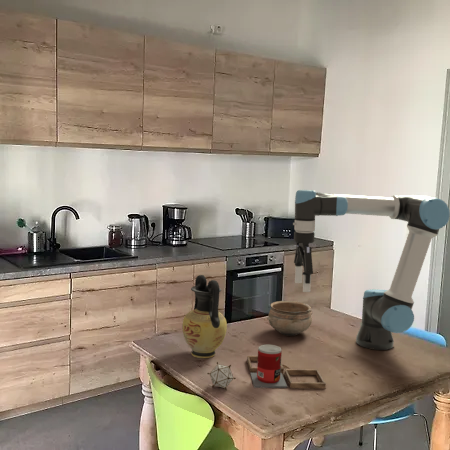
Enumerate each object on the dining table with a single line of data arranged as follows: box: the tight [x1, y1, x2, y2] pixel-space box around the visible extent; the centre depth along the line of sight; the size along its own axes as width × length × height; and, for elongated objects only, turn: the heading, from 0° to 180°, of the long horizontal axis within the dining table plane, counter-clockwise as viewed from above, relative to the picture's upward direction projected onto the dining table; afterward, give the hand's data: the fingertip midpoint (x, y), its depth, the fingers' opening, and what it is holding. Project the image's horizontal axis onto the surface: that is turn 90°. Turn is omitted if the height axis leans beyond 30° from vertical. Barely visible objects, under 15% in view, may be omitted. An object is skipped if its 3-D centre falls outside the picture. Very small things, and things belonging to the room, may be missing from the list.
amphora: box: [182, 274, 228, 359], centre depth 206 cm, size 18×17×30 cm
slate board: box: [250, 373, 288, 389], centre depth 185 cm, size 11×11×1 cm
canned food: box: [256, 344, 282, 383], centre depth 185 cm, size 8×8×11 cm
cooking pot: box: [266, 300, 313, 337], centre depth 236 cm, size 25×19×12 cm
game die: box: [207, 361, 236, 391], centre depth 178 cm, size 9×8×10 cm
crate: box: [246, 355, 285, 374], centre depth 198 cm, size 12×12×2 cm
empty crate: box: [283, 368, 327, 390], centre depth 186 cm, size 12×12×2 cm
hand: (302, 287), depth 204 cm, fingers open, 13 cm apart
